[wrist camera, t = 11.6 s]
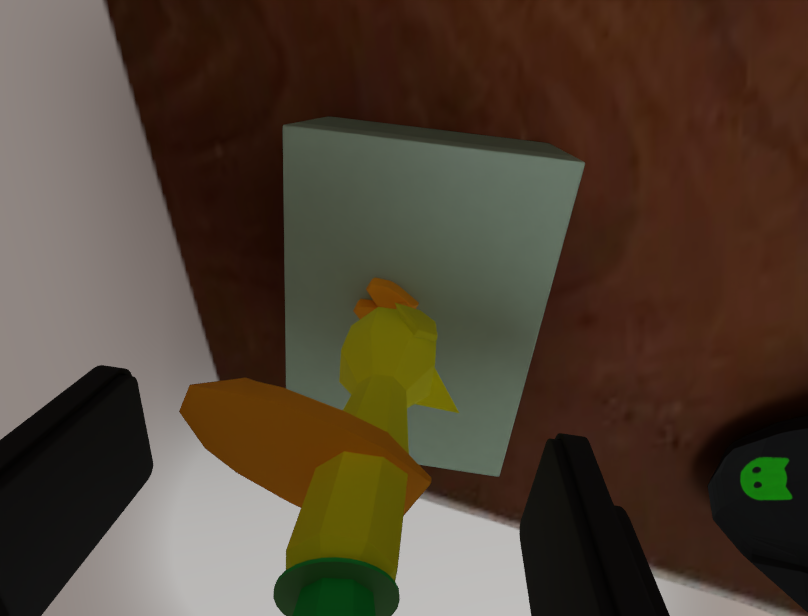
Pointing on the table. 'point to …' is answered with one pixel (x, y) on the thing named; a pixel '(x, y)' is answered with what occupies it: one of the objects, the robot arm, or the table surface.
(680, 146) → the table surface
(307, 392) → the green box
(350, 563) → the toy figure
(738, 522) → the computer mouse
